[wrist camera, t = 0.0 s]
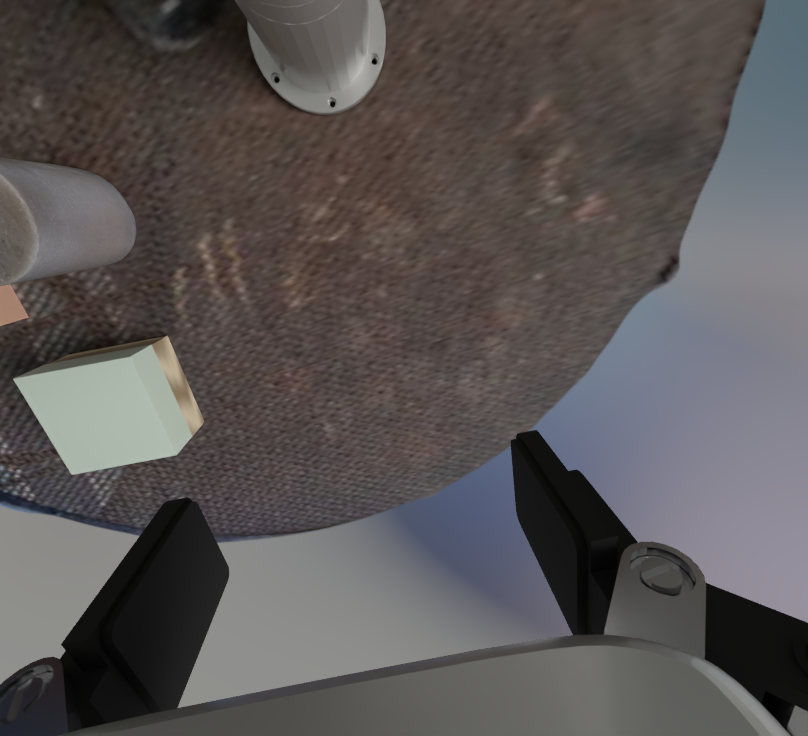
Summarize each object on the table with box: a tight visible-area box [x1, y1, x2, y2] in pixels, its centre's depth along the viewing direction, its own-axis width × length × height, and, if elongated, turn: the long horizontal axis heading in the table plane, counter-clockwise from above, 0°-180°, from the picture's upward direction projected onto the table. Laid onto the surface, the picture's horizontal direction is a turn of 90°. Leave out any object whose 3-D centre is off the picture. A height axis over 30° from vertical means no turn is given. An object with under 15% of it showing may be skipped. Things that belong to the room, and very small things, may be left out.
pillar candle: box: [0, 157, 136, 286], centre depth 34 cm, size 10×10×15 cm
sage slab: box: [13, 345, 192, 475], centre depth 43 cm, size 12×12×4 cm
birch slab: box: [49, 336, 204, 436], centre depth 46 cm, size 12×12×4 cm
